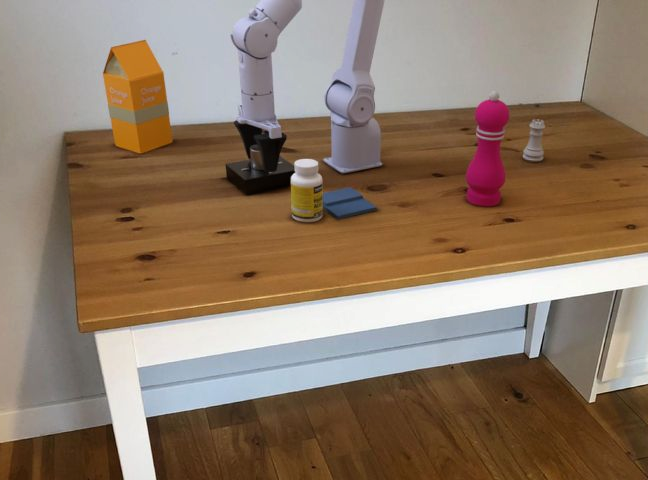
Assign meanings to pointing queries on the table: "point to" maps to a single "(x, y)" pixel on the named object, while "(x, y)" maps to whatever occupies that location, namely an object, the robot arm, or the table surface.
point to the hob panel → (259, 176)
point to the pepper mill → (488, 153)
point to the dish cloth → (346, 203)
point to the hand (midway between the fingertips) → (262, 164)
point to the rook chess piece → (534, 143)
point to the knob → (256, 158)
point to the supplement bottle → (306, 191)
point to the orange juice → (137, 98)
